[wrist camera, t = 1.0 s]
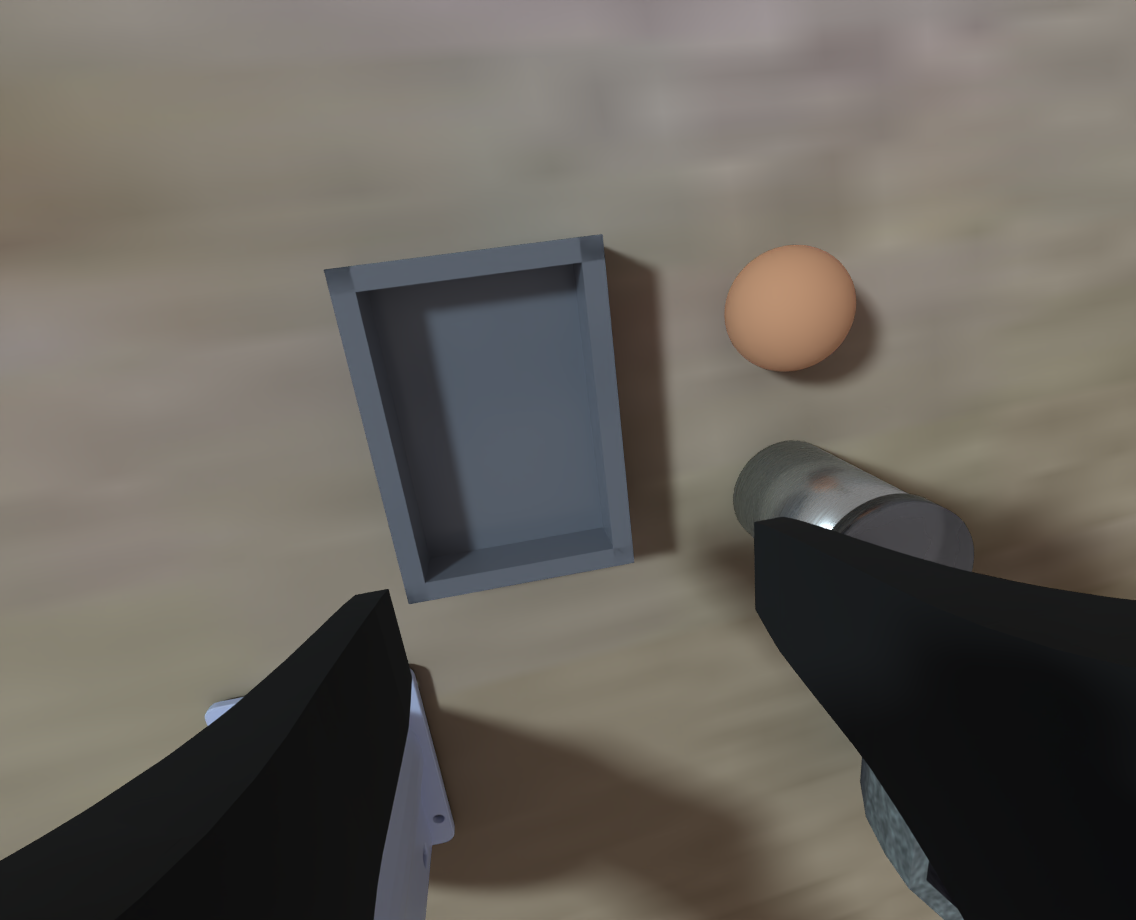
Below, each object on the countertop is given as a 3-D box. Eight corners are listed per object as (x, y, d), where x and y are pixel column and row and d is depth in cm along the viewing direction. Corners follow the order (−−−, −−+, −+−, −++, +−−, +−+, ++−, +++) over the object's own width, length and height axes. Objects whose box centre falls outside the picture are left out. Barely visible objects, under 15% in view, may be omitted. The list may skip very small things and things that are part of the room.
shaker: (835, 532, 24) (965, 627, 17) (732, 551, 23) (825, 655, 17) (839, 429, 22) (982, 491, 16) (728, 448, 22) (830, 519, 15)
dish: (618, 533, 22) (634, 562, 20) (416, 569, 21) (408, 604, 19) (588, 239, 19) (602, 233, 16) (344, 270, 18) (323, 269, 16)
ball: (810, 354, 21) (881, 370, 17) (708, 369, 21) (759, 390, 17) (812, 241, 20) (890, 232, 16) (703, 255, 19) (757, 250, 16)
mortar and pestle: (974, 757, 29) (1280, 1058, 18) (806, 795, 28) (1018, 1136, 17) (1004, 571, 26) (1411, 802, 14) (813, 607, 25) (1087, 884, 13)
